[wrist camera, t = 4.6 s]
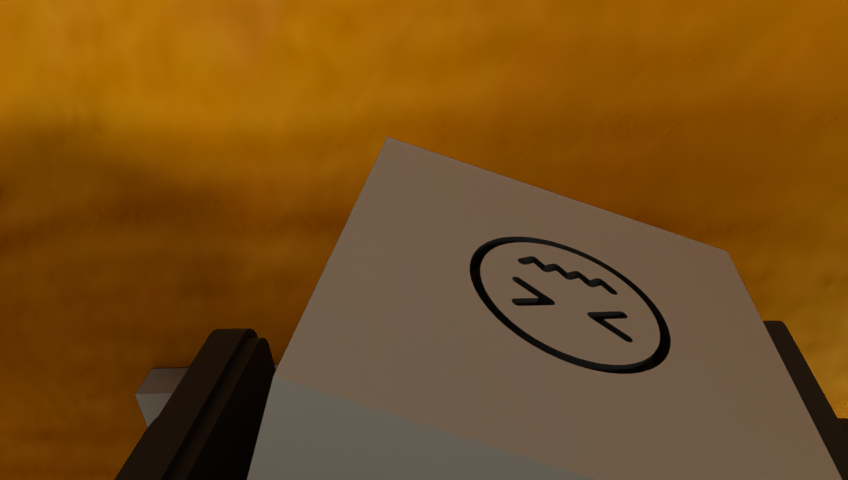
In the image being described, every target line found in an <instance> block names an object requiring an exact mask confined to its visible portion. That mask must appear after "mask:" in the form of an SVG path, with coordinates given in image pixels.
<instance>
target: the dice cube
mask: <svg viewBox="0 0 848 480" xmlns="http://www.w3.org/2000/svg"><path fill="white" fill-rule="evenodd" d="M247 480H842V478H841V476H840V474H839V472H838V470H837V468H836V466H835V464H834V462H833V460H832V458H831V456H830V454H829V452H828V450H827V448H826V446H825V444H824V442H823V440H822V438H821V436H820V434H819V432H818V430H817V428H816V426H815V424H814V422H813V420H812V418H811V416H810V415H809V413H808V411H807V409H806V407H805V405H804V403H803V401H802V399H801V397H800V395H799V393H798V391H797V389H796V387H795V385H794V383H793V381H792V379H791V377H790V375H789V373H788V371H787V369H786V367H785V365H784V363H783V361H782V359H781V357H780V355H779V353H778V351H777V349H776V347H775V345H774V343H773V341H772V339H771V337H770V335H769V333H768V331H767V329H766V327H765V325H764V323H763V321H762V319H761V317H760V315H759V313H758V311H757V309H756V307H755V305H754V303H753V301H752V299H751V297H750V295H749V293H748V291H747V289H746V287H745V285H744V283H743V281H742V279H741V277H740V275H739V273H738V271H737V269H736V267H735V265H734V263H733V261H732V259H731V257H730V255H729V253H728V251H725V250H722V249H719V248H716V247H713V246H710V245H707V244H704V243H701V242H698V241H695V240H692V239H689V238H687V237H684V236H681V235H678V234H675V233H672V232H669V231H666V230H663V229H660V228H657V227H654V226H651V225H648V224H645V223H642V222H639V221H636V220H633V219H630V218H627V217H624V216H621V215H618V214H615V213H612V212H609V211H606V210H604V209H601V208H598V207H595V206H592V205H589V204H586V203H583V202H580V201H577V200H574V199H571V198H568V197H565V196H562V195H559V194H556V193H553V192H550V191H547V190H544V189H541V188H538V187H535V186H532V185H529V184H526V183H523V182H521V181H518V180H515V179H512V178H509V177H506V176H503V175H500V174H497V173H494V172H491V171H488V170H485V169H482V168H479V167H476V166H473V165H470V164H467V163H464V162H461V161H458V160H455V159H452V158H449V157H446V156H443V155H440V154H438V153H435V152H432V151H429V150H426V149H423V148H420V147H417V146H414V145H411V144H408V143H405V142H402V141H399V140H396V139H393V138H390V137H387V138H386V140H385V142H384V145H383V147H382V149H381V151H380V153H379V155H378V157H377V159H376V161H375V163H374V166H373V168H372V170H371V172H370V174H369V176H368V178H367V180H366V182H365V185H364V187H363V189H362V191H361V193H360V195H359V197H358V199H357V201H356V203H355V206H354V208H353V210H352V212H351V214H350V216H349V218H348V220H347V222H346V224H345V227H344V229H343V231H342V233H341V235H340V237H339V239H338V241H337V243H336V245H335V248H334V250H333V252H332V254H331V256H330V258H329V260H328V262H327V264H326V267H325V269H324V271H323V273H322V275H321V277H320V279H319V281H318V283H317V285H316V288H315V290H314V292H313V294H312V296H311V298H310V300H309V302H308V304H307V306H306V309H305V311H304V313H303V315H302V317H301V319H300V321H299V323H298V325H297V327H296V330H295V332H294V334H293V336H292V338H291V340H290V342H289V344H288V346H287V349H286V351H285V353H284V355H283V357H282V359H281V361H280V363H279V365H278V367H277V370H276V372H275V374H274V376H273V380H272V384H271V387H270V391H269V395H268V399H267V403H266V407H265V411H264V415H263V419H262V423H261V427H260V430H259V434H258V438H257V442H256V446H255V450H254V454H253V458H252V462H251V466H250V470H249V473H248V477H247Z"/></svg>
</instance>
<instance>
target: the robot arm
mask: <svg viewBox="0 0 848 480" xmlns="http://www.w3.org/2000/svg"><path fill="white" fill-rule="evenodd" d="M763 323H764V325H765V327H766V329H767V331H768V333H769V335H770V337H771V339H772V341H773V343H774V345H775V347H776V349H777V351H778V353H779V355H780V357H781V359H782V361H783V363H784V365H785V367H786V369H787V371H788V373H789V375H790V377H791V379H792V381H793V383H794V385H795V387H796V389H797V391H798V393H799V395H800V397H801V399H802V401H803V403H804V405H805V407H806V409H807V411H808V413H809V415H810V416H811V418H812V420H813V422H814V424H815V426H816V428H817V430H818V432H819V434H820V436H821V438H822V440H823V442H824V444H825V446H826V448H827V450H828V452H829V454H830V456H831V458H832V460H833V462H834V464H835V466H836V468H837V470H838V472H839V474H840V476H841V478H842V480H848V419H847V418H837V417H836V415H835V413H834V411H833V409H832V408H831V406H830V404H829V402H828V400H827V399H826V397H825V395H824V393H823V391H822V390H821V388H820V386H819V384H818V383H817V381H816V379H815V377H814V375H813V374H812V372H811V370H810V368H809V366H808V365H807V363H806V361H805V359H804V358H803V356H802V354H801V352H800V350H799V349H798V347H797V345H796V343H795V341H794V340H793V338H792V336H791V334H790V333H789V331H788V329H787V327H786V326H785V324H784V323H783V322H781V321H763ZM275 372H276V370H275V366H274V362H273V359H272V355H271V351H270V347H269V344H268V341H267V340H266V339H265V338H258V337H257V334H256V333H255V331H254V330H253V329H216V330H214V331H213V332H212V333H211V334H210V335H209V337H208V338H207V340H206V342H205V343H204V345H203V346H202V348H201V350H200V351H199V353H198V354H197V356H196V357H195V359H194V361H193V362H192V364H191V365H190V367H189V368H188V370H187V372H186V373H185V375H184V376H183V378H182V379H181V381H180V383H179V384H178V386H177V387H176V389H175V391H174V392H173V394H172V395H171V397H170V398H169V400H168V402H167V403H166V405H165V406H164V408H163V409H162V411H161V413H160V414H159V416H158V417H157V418H156V419H154V421H153V422H152V423H151V424H150V425H149V427H148V428H147V430H146V431H145V433H144V434H143V436H142V437H141V439H140V441H139V442H138V444H137V445H136V447H135V448H134V450H133V452H132V453H131V455H130V456H129V458H128V459H127V461H126V462H125V464H124V466H123V467H122V469H121V470H120V472H119V473H118V475H117V477H116V478H115V480H247V477H248V473H249V470H250V466H251V462H252V458H253V454H254V450H255V446H256V442H257V438H258V434H259V430H260V427H261V423H262V419H263V415H264V411H265V407H266V403H267V399H268V395H269V391H270V387H271V384H272V380H273V376H274V374H275Z"/></svg>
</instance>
